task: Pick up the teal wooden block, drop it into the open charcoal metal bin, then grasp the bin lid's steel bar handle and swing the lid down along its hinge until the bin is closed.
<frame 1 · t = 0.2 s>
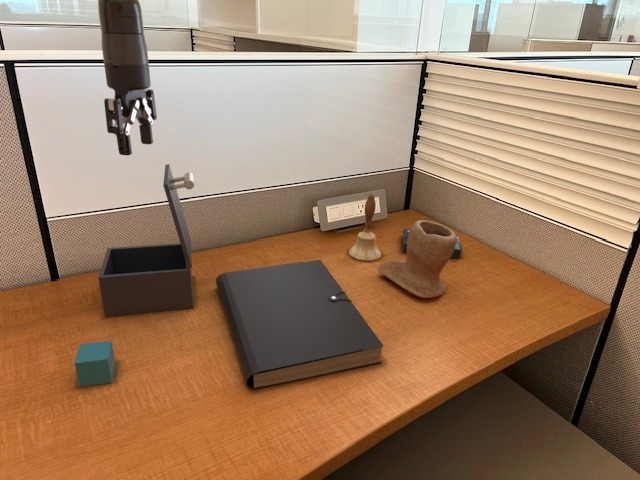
hand: (136, 149, 93), 30 cm above the table, tool pointing down, fingers open, 8 cm apart
dark grey notebook: (290, 322, 94), on the table
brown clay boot: (415, 284, 110), on the table
disk drive: (430, 248, 128), on the table
bin: (151, 295, 100), on the table
hand bell: (364, 254, 122), on the table
block: (98, 374, 78), on the table
bin lid: (189, 213, 95), point 18 cm above the table, hinge at 80.0°
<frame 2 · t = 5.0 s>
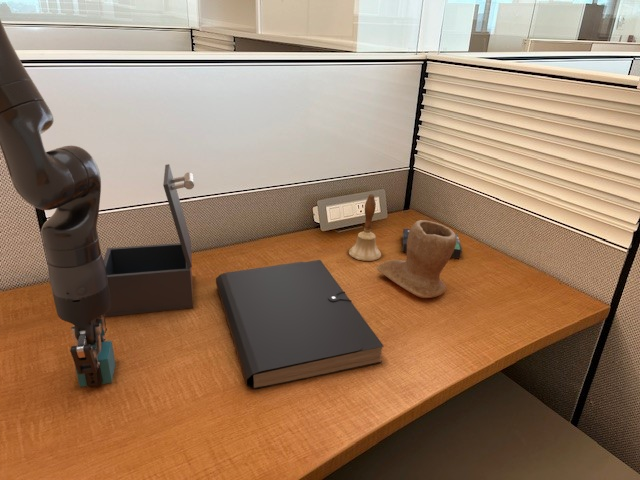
hand: (97, 373, 78), 0 cm above the table, tool pointing down, fingers closed on block, 4 cm apart
block: (98, 374, 78), on the table, touching gripper
everything else where it was.
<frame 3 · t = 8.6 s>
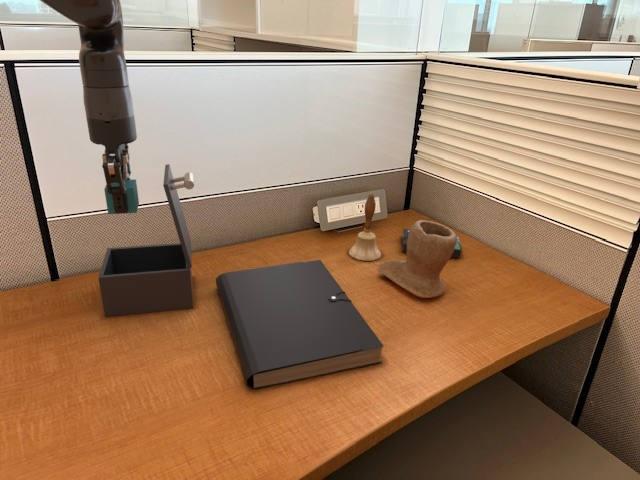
hand: (123, 206, 88), 21 cm above the table, tool pointing down, fingers closed on block, 4 cm apart
block: (124, 208, 88), point 21 cm above the table, touching gripper
everything else where it was.
when the fingers open (8 cm above the table, at t = 12.4 s): block drops 7 cm, resting on bin.
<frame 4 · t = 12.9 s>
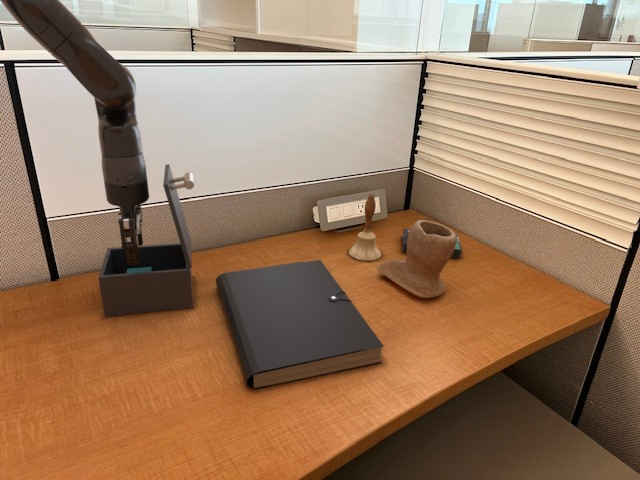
hand: (135, 254, 96), 10 cm above the table, tool pointing down, fingers open, 8 cm apart
block: (141, 293, 100), point 1 cm above the table, touching bin
everything else where it was.
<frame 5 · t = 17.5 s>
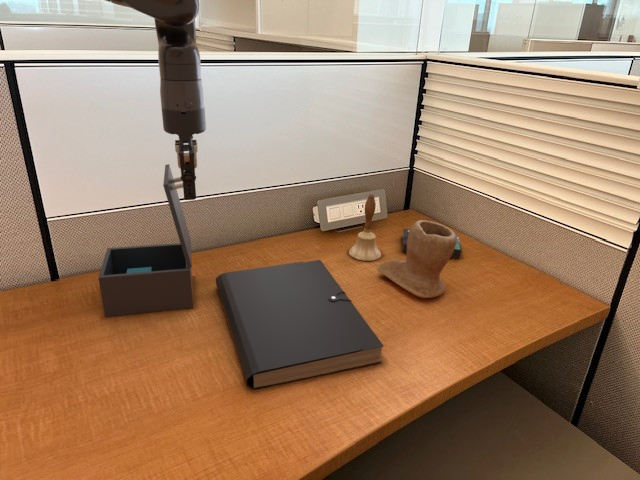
hand: (190, 193, 93), 22 cm above the table, tool pointing down, fingers closed on bin lid, 5 cm apart
bin lid: (189, 213, 95), point 18 cm above the table, hinge at 80.0°, touching gripper
everything else where it was.
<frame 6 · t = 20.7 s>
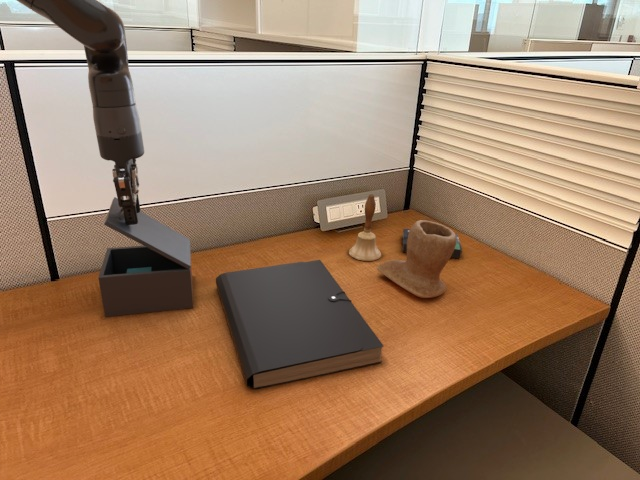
hand: (133, 217, 92), 18 cm above the table, tool pointing down, fingers closed on bin lid, 5 cm apart
bin lid: (157, 224, 94), point 16 cm above the table, hinge at 36.9°, touching gripper
everything else where it was.
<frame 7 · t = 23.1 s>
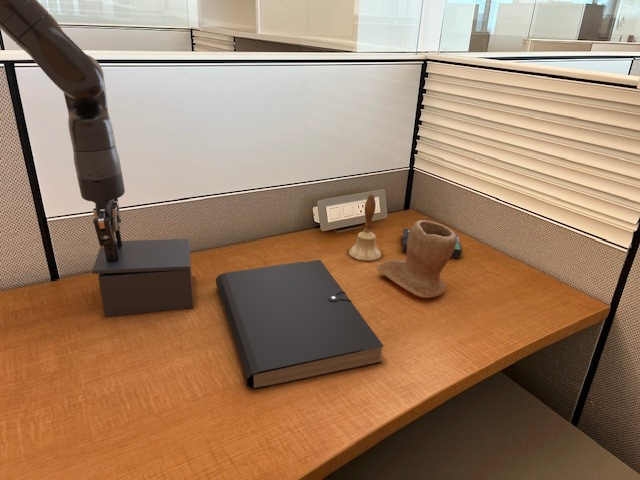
hand: (114, 253, 94), 10 cm above the table, tool pointing down, fingers closed on bin lid, 5 cm apart
bin lid: (144, 245, 95), point 12 cm above the table, hinge at 2.6°, touching gripper
everything else where it was.
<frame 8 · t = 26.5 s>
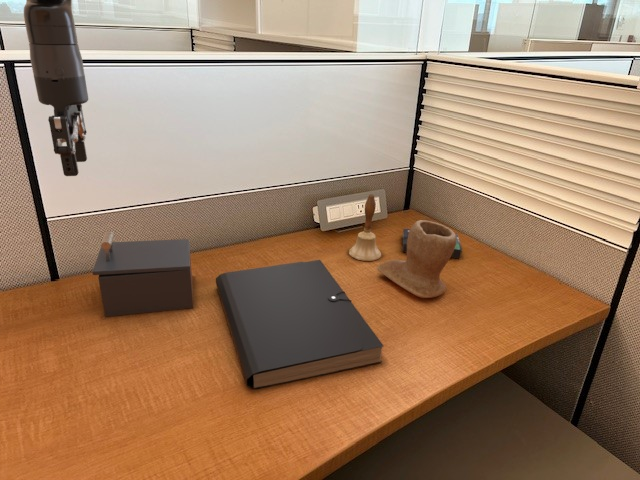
hand: (76, 168, 86), 28 cm above the table, tool pointing down, fingers open, 8 cm apart
bin lid: (143, 246, 95), point 12 cm above the table, hinge at 1.7°
everything else where it was.
at the end: block inside the target area in the bin (2.0 cm from its centre), point 0.8 cm above the bin's base; bin lid at +2° (first picture: +80°) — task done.
